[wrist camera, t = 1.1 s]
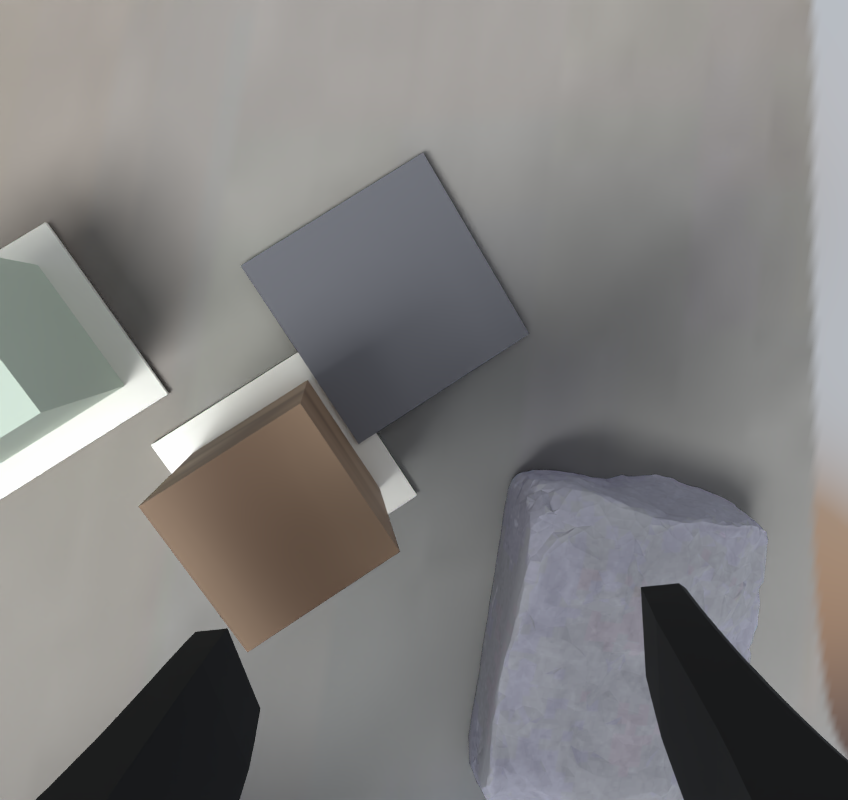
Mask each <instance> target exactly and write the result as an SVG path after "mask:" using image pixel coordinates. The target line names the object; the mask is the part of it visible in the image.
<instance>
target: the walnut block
mask: <svg viewBox="0 0 848 800" xmlns="http://www.w3.org/2000/svg"><path fill="white" fill-rule="evenodd" d="M139 508H140V509H141V510H142V512H143V513H144V514H145V516H146V517H147V518H148V520H149V521H150V522H151V524H152V525H153V526H154V528H155V529H156V530H157V532H158V533H159V534H160V536H161V537H162V538H163V540H164V541H165V542H166V544H167V545H168V547H169V548H170V549H171V551H172V552H173V553H174V555H175V556H176V557H177V559H178V560H179V561H180V563H181V564H182V565H183V567H184V568H185V569H186V571H187V572H188V573H189V575H190V576H191V577H192V579H193V580H194V581H195V583H196V584H197V585H198V587H199V588H200V589H201V591H202V592H203V593H204V595H205V596H206V597H207V599H208V600H209V601H210V603H211V604H212V605H213V607H214V608H215V609H216V611H217V612H218V614H219V615H220V616H221V618H222V619H223V620H224V622H225V623H226V624H227V626H228V627H229V628H230V630H231V631H232V632H233V634H234V635H235V636H236V638H237V639H238V640H239V642H240V643H241V644H242V646H243V647H244V648H245V650H246V651H247V652H249V651H250V650H252V649H253V648H255V647H256V646H258V645H259V644H261V643H262V642H264V641H265V640H267V639H268V638H270V637H271V636H273V635H275V634H276V633H278V632H279V631H281V630H282V629H284V628H285V627H287V626H288V625H290V624H291V623H293V622H294V621H296V620H297V619H299V618H300V617H302V616H303V615H305V614H306V613H308V612H309V611H311V610H312V609H314V608H315V607H317V606H318V605H320V604H321V603H323V602H325V601H326V600H328V599H329V598H331V597H332V596H334V595H335V594H337V593H338V592H340V591H341V590H343V589H344V588H346V587H347V586H349V585H350V584H352V583H353V582H355V581H356V580H358V579H359V578H361V577H362V576H364V575H365V574H367V573H368V572H370V571H371V570H373V569H375V568H376V567H378V566H379V565H381V564H382V563H384V562H385V561H387V560H388V559H390V558H391V557H393V556H394V555H396V554H397V553H399V552H400V551H399V547H398V544H397V541H396V538H395V535H394V532H393V529H392V525H391V522H390V519H389V516H388V513H387V510H386V506H385V503H384V500H383V497H382V494H381V491H380V488H379V486H378V485H377V483H376V482H375V480H374V479H373V477H372V476H371V474H370V473H369V471H368V470H367V468H366V467H365V465H364V464H363V462H362V461H361V459H360V458H359V456H358V455H357V453H356V452H355V450H354V449H353V447H352V446H351V444H350V443H349V441H348V440H347V438H346V437H345V435H344V434H343V432H342V431H341V429H340V428H339V426H338V425H337V423H336V422H335V420H334V419H333V417H332V416H331V414H330V413H329V411H328V410H327V408H326V407H325V405H324V404H323V402H322V401H321V399H320V398H319V396H318V395H317V393H316V392H315V390H314V389H313V387H312V386H311V384H310V383H309V381H308V380H307V381H305V382H304V383H302V384H300V385H299V386H297V387H296V388H294V389H293V390H291V391H289V392H288V393H286V394H285V395H283V396H282V397H280V398H278V399H277V400H275V401H274V402H272V403H271V404H269V405H267V406H266V407H264V408H263V409H261V410H260V411H258V412H256V413H255V414H253V415H252V416H250V417H249V418H247V419H245V420H244V421H242V422H241V423H239V424H238V425H236V426H234V427H233V428H231V429H230V430H228V431H227V432H225V433H223V434H222V435H220V436H219V437H217V438H216V439H214V440H212V441H211V442H209V443H208V444H206V445H205V446H203V447H201V448H200V449H198V450H197V451H195V452H194V453H192V454H191V455H190V456H189V457H188V458H187V459H186V460H185V461H184V462H183V463H182V464H181V465H180V466H179V467H178V468H177V469H176V470H175V471H174V472H173V473H172V474H171V475H170V476H169V477H168V478H167V479H166V480H165V481H164V482H163V483H162V484H161V485H160V486H159V487H158V488H157V489H156V490H155V491H154V492H153V493H152V494H151V495H150V496H149V497H148V498H147V499H146V500H145V501H144V502H143V503H142V504H141V505H140V506H139Z"/></svg>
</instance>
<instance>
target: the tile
mask: <svg viewBox="0 0 848 800" xmlns="http://www.w3.org/2000/svg"><path fill="white" fill-rule="evenodd" d="M0 258H4V259H10V260H15V261H20V262H25V263H30V264H35V265H38V266H39V267H40V269H41V270H42V271H43V273H44V274H45V275H46V277H47V278H48V280H49V281H50V282H51V284H52V285H53V287H54V288H55V289H56V291H57V292H58V293H59V295H60V296H61V298H62V299H63V300H64V302H65V303H66V305H67V306H68V307H69V309H70V310H71V311H72V313H73V314H74V316H75V317H76V318H77V320H78V321H79V323H80V324H81V325H82V327H83V328H84V329H85V331H86V332H87V334H88V335H89V336H90V338H91V339H92V341H93V342H94V343H95V345H96V346H97V347H98V349H99V350H100V352H101V353H102V354H103V356H104V357H105V359H106V360H107V361H108V363H109V364H110V365H111V367H112V368H113V370H114V371H115V372H116V374H117V375H118V377H119V378H120V379H121V381H122V382H123V383H124V385H125V386H124V387H122V388H120V389H119V390H117V391H116V392H114V393H112V394H111V395H109V396H108V397H106V398H104V399H103V400H101V401H100V402H98V403H97V404H95V405H93V406H92V407H90V408H89V409H87V410H85V411H84V412H82V413H81V414H79V415H77V416H76V417H74V418H73V419H71V420H69V421H68V422H66V423H65V424H63V425H61V426H60V427H58V428H57V429H55V430H53V431H52V432H50V433H49V434H47V435H45V436H44V437H42V438H41V439H39V440H37V441H36V442H34V443H33V444H31V445H29V446H28V447H26V448H25V449H23V450H21V451H20V452H18V453H17V454H15V455H13V456H12V457H10V458H9V459H7V460H5V461H4V462H2V463H0V500H1V499H2V498H4V497H5V496H7V495H9V494H10V493H12V492H13V491H15V490H17V489H18V488H20V487H21V486H23V485H25V484H26V483H28V482H29V481H31V480H33V479H34V478H36V477H37V476H39V475H40V474H42V473H44V472H45V471H47V470H48V469H50V468H52V467H53V466H55V465H56V464H58V463H60V462H61V461H63V460H64V459H66V458H67V457H69V456H71V455H72V454H74V453H75V452H77V451H79V450H80V449H82V448H83V447H85V446H87V445H88V444H90V443H91V442H93V441H95V440H96V439H98V438H99V437H101V436H102V435H104V434H106V433H107V432H109V431H110V430H112V429H114V428H115V427H117V426H118V425H120V424H122V423H123V422H125V421H126V420H128V419H130V418H131V417H133V416H134V415H136V414H137V413H139V412H141V411H142V410H144V409H145V408H147V407H149V406H150V405H152V404H153V403H155V402H157V401H158V400H160V399H161V398H163V397H164V396H166V395H168V394H169V393H168V391H167V390H166V388H165V387H164V386H163V384H162V383H161V381H160V380H159V379H158V377H157V376H156V374H155V373H154V372H153V370H152V369H151V367H150V366H149V364H148V363H147V362H146V360H145V359H144V357H143V356H142V355H141V353H140V352H139V350H138V349H137V348H136V346H135V345H134V343H133V342H132V341H131V339H130V338H129V336H128V335H127V334H126V332H125V331H124V329H123V328H122V326H121V325H120V324H119V322H118V321H117V319H116V318H115V317H114V315H113V314H112V312H111V311H110V310H109V308H108V307H107V305H106V304H105V303H104V301H103V300H102V298H101V297H100V295H99V294H98V293H97V291H96V290H95V288H94V287H93V286H92V284H91V283H90V281H89V280H88V279H87V277H86V276H85V274H84V273H83V272H82V270H81V269H80V267H79V266H78V265H77V263H76V262H75V260H74V259H73V257H72V256H71V255H70V253H69V252H68V250H67V249H66V248H65V246H64V245H63V243H62V242H61V241H60V239H59V238H58V236H57V235H56V234H55V232H54V231H53V229H52V228H51V227H50V225H49V224H48V223H46V222H45V223H43V224H42V225H40V226H38V227H37V228H35V229H33V230H32V231H30V232H28V233H27V234H25V235H23V236H22V237H20V238H18V239H17V240H15V241H13V242H12V243H10V244H8V245H7V246H5V247H3V248H2V249H0Z"/></svg>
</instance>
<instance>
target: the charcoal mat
mask: <svg viewBox="0 0 848 800" xmlns="http://www.w3.org/2000/svg"><path fill="white" fill-rule="evenodd" d="M241 267H242V268H243V270H244V271H245V273H246V274H247V276H248V277H249V279H250V280H251V282H252V283H253V285H254V286H255V288H256V289H257V291H258V292H259V294H260V296H261V297H262V299H263V300H264V302H265V303H266V305H267V306H268V308H269V309H270V311H271V312H272V314H273V315H274V317H275V318H276V320H277V321H278V323H279V324H280V326H281V327H282V329H283V330H284V332H285V333H286V335H287V336H288V338H289V339H290V341H291V342H292V344H293V345H294V347H295V348H296V350H297V351H298V353H299V354H300V356H301V358H302V359H303V361H304V362H305V364H306V365H307V367H308V368H309V370H310V371H311V373H312V374H313V376H314V377H315V379H316V380H317V382H318V383H319V385H320V386H321V388H322V389H323V391H324V392H325V394H326V395H327V397H328V398H329V400H330V401H331V403H332V404H333V406H334V407H335V409H336V410H337V412H338V413H339V415H340V416H341V418H342V420H343V421H344V423H345V424H346V426H347V427H348V429H349V430H350V432H351V433H352V435H353V436H354V438H355V439H356V441H357V442H358V444H360V443H361V442H363V441H364V440H366V439H367V438H369V437H370V436H372V435H374V434H375V433H377V432H378V431H380V430H381V429H383V428H384V427H386V426H388V425H389V424H391V423H392V422H394V421H395V420H397V419H398V418H400V417H401V416H403V415H405V414H406V413H408V412H409V411H411V410H412V409H414V408H415V407H417V406H418V405H420V404H422V403H423V402H425V401H426V400H428V399H429V398H431V397H432V396H434V395H435V394H437V393H439V392H440V391H442V390H443V389H445V388H446V387H448V386H449V385H451V384H452V383H454V382H456V381H457V380H459V379H460V378H462V377H463V376H465V375H466V374H468V373H470V372H471V371H473V370H474V369H476V368H477V367H479V366H480V365H482V364H483V363H485V362H487V361H488V360H490V359H491V358H493V357H494V356H496V355H497V354H499V353H500V352H502V351H504V350H505V349H507V348H508V347H510V346H511V345H513V344H514V343H516V342H517V341H519V340H521V339H522V338H524V337H525V336H527V335H528V334H529V332H528V331H527V329H526V327H525V326H524V324H523V322H522V320H521V319H520V317H519V315H518V314H517V312H516V310H515V308H514V307H513V305H512V303H511V302H510V300H509V298H508V297H507V295H506V293H505V291H504V290H503V288H502V286H501V285H500V283H499V281H498V279H497V278H496V276H495V274H494V273H493V271H492V269H491V268H490V266H489V264H488V262H487V261H486V259H485V257H484V256H483V254H482V252H481V250H480V249H479V247H478V245H477V244H476V242H475V240H474V239H473V237H472V235H471V233H470V232H469V230H468V228H467V227H466V225H465V223H464V221H463V220H462V218H461V216H460V215H459V213H458V211H457V210H456V208H455V206H454V204H453V203H452V201H451V199H450V198H449V196H448V194H447V192H446V191H445V189H444V187H443V186H442V184H441V182H440V181H439V179H438V177H437V175H436V174H435V172H434V170H433V169H432V167H431V165H430V163H429V162H428V160H427V158H426V157H425V155H424V153H421V154H420V155H418V156H417V157H415V158H413V159H412V160H410V161H409V162H407V163H405V164H404V165H402V166H400V167H399V168H397V169H396V170H394V171H392V172H391V173H389V174H388V175H386V176H384V177H383V178H381V179H380V180H378V181H376V182H375V183H373V184H371V185H370V186H368V187H367V188H365V189H363V190H362V191H360V192H359V193H357V194H355V195H354V196H352V197H351V198H349V199H347V200H346V201H344V202H342V203H341V204H339V205H338V206H336V207H334V208H333V209H331V210H330V211H328V212H326V213H325V214H323V215H322V216H320V217H318V218H317V219H315V220H313V221H312V222H310V223H309V224H307V225H305V226H304V227H302V228H301V229H299V230H297V231H296V232H294V233H293V234H291V235H289V236H288V237H286V238H284V239H283V240H281V241H280V242H278V243H276V244H275V245H273V246H272V247H270V248H268V249H267V250H265V251H263V252H262V253H260V254H259V255H257V256H255V257H254V258H252V259H251V260H249V261H247V262H246V263H244V264H243V265H241Z"/></svg>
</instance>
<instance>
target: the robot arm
mask: <svg viewBox="0 0 848 800" xmlns="http://www.w3.org/2000/svg"><path fill="white" fill-rule="evenodd" d="M641 601H642V619H643V636H644V654H645V672H646V679H647V683H648V687H649V691H650V695H651V699H652V703H653V707H654V711H655V715H656V719H657V723H658V727H659V731H660V734H661V738H662V741H663V744H664V747H665V750H666V752H667V755H668V758H669V761H670V763H671V766H672V769H673V772H674V774H675V777H676V780H677V783H678V786H679V788H680V791H681V794H682V796H683V799H684V800H848V760H847V759H846V758H845V757H844V756H843V755H841V754H840V753H839V752H838V751H837V750H836V749H835V748H834V747H833V746H832V745H830V744H829V743H828V742H827V741H826V740H825V739H824V738H823V737H822V736H821V735H820V734H819V733H818V732H817V731H816V730H815V729H813V728H812V727H811V726H810V725H809V724H808V723H807V722H806V721H805V720H804V719H803V718H802V717H801V716H800V715H799V714H798V713H797V712H796V711H795V710H794V709H793V708H792V707H791V706H790V705H789V704H788V703H787V702H786V701H785V700H784V699H783V698H782V697H781V696H780V695H779V694H778V693H777V692H776V691H775V690H774V689H773V688H772V687H771V686H770V685H769V684H768V683H767V682H766V681H765V680H764V679H763V677H762V676H761V675H760V674H759V673H758V672H757V671H756V670H755V669H754V668H753V667H752V666H751V665H750V664H749V663H748V662H747V661H746V659H745V658H744V657H743V656H742V655H741V654H740V653H739V652H738V651H737V650H736V648H735V647H734V646H733V645H732V644H731V643H730V642H729V640H728V639H727V638H726V637H725V636H724V635H723V634H722V632H721V631H720V630H719V629H718V628H717V627H716V625H715V624H714V623H713V622H712V621H711V619H710V618H709V617H708V616H707V615H706V613H705V612H704V611H703V610H702V608H701V607H700V606H699V605H698V603H697V602H696V601H695V599H694V598H693V597H692V596H691V594H690V593H689V592H688V590H687V589H686V588H685V587H684V586H682V585H681V584H680V583H675V584H665V585H655V586H645V587H641ZM259 713H260V707H259V704H258V702H257V700H256V697H255V695H254V692H253V690H252V687H251V685H250V682H249V680H248V678H247V675H246V673H245V670H244V668H243V665H242V663H241V660H240V658H239V656H238V653H237V651H236V648H235V646H234V643H233V641H232V638H231V636H230V634H229V631H228V629H219V630H210V631H200V632H195V633H194V634H193V635H192V636H191V637H190V638H189V639H188V640H187V641H186V642H185V643H184V644H183V646H182V647H181V648H180V649H179V650H178V651H177V652H176V653H175V654H174V655H173V656H172V657H171V659H170V660H169V661H168V662H167V663H166V664H165V665H164V666H163V667H162V668H161V670H160V671H159V672H158V673H157V674H156V675H155V676H154V677H153V678H152V680H151V681H150V682H149V683H148V684H147V685H146V686H145V687H144V688H143V689H142V691H141V692H140V693H139V694H138V695H137V696H136V697H135V698H134V699H133V700H132V701H131V703H130V704H129V705H128V706H127V707H126V708H125V709H124V710H123V711H122V712H121V713H120V714H119V716H118V717H117V718H116V719H115V720H114V721H113V722H112V723H111V724H110V725H109V726H108V727H107V729H106V730H105V731H104V732H103V733H102V734H101V735H100V736H99V737H98V738H97V739H96V740H95V741H94V742H93V743H92V744H91V745H90V746H89V747H88V748H87V749H86V750H85V751H84V752H83V753H82V754H81V755H80V756H79V757H78V758H77V759H76V760H75V761H74V762H73V763H72V764H71V765H70V766H69V767H68V768H67V769H66V770H65V771H64V772H63V773H62V774H61V775H60V776H59V777H58V778H57V779H56V780H55V781H54V782H53V783H52V784H51V785H50V786H49V787H48V788H47V789H46V790H45V791H44V792H43V793H42V794H41V795H40V796H39V797H38V798H37V799H36V800H239V799H240V796H241V793H242V790H243V786H244V783H245V780H246V776H247V773H248V770H249V766H250V761H251V756H252V751H253V746H254V741H255V736H256V730H257V724H258V718H259Z"/></svg>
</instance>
